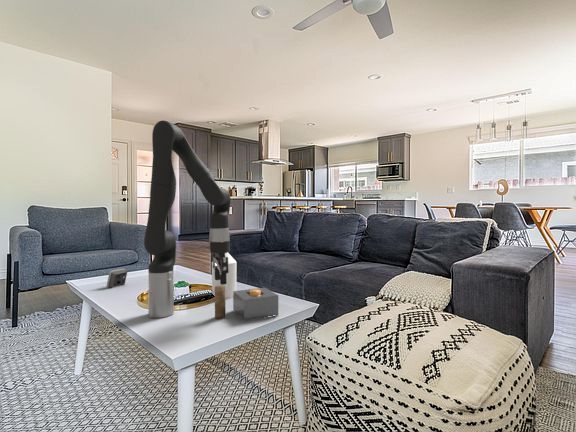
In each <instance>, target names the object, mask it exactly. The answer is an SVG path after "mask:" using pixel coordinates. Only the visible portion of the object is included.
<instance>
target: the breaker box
mask: <svg viewBox="0 0 576 432" xmlns="http://www.w3.org/2000/svg"><path fill="white" fill-rule="evenodd" d="M254 289H255V288H250V289H242V290H241V289H240V290H236V291H233V297H232V298H233V301H232V303H233V312H234V313H235V314H236V315H238V317H239V318H240V319H242V320H243V322H246V321H253V320H260V319H265V318H264V317H267V318H269V317H268V316H273V315H278V316H279V294H277V293H275V292H274V291H272V290H270V289H268V288H266V287H259V288H256V289H258V290H261V295H254V296H250V290H254ZM273 317H274V316H273Z"/></svg>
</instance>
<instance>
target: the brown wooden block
mask: <svg viewBox="0 0 576 432" xmlns="http://www.w3.org/2000/svg"><path fill="white" fill-rule="evenodd" d="M226 314H227V313H226V298H225V286H224V285H218V286H215V298H214V318H215V320H224V319H226Z"/></svg>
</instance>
